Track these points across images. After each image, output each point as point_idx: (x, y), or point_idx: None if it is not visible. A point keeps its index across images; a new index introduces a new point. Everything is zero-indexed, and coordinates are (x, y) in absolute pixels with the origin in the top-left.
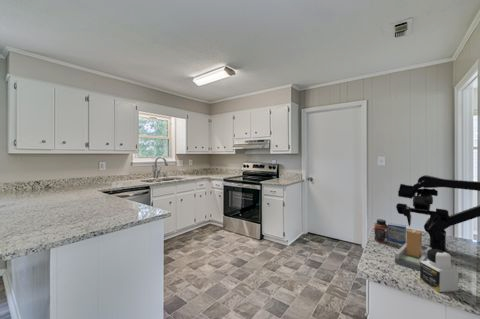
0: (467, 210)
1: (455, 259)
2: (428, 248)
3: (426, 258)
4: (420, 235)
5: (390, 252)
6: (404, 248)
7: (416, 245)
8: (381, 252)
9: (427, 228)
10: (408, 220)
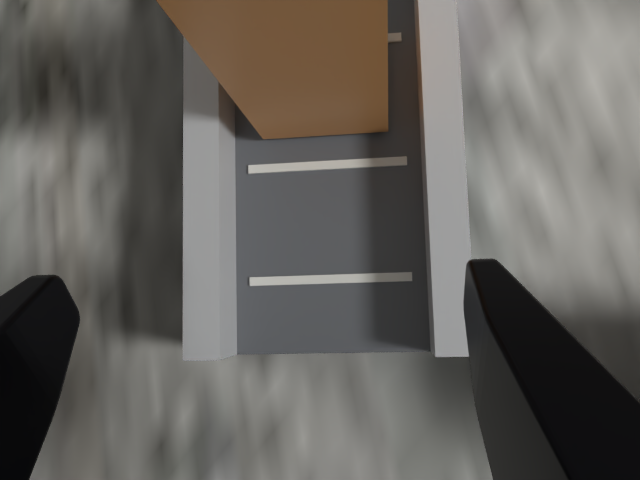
0: None
1: (41, 468)
2: (207, 293)
3: None
4: None
5: (563, 103)
6: (419, 44)
7: None
8: (633, 16)
9: (56, 279)
10: (546, 335)
